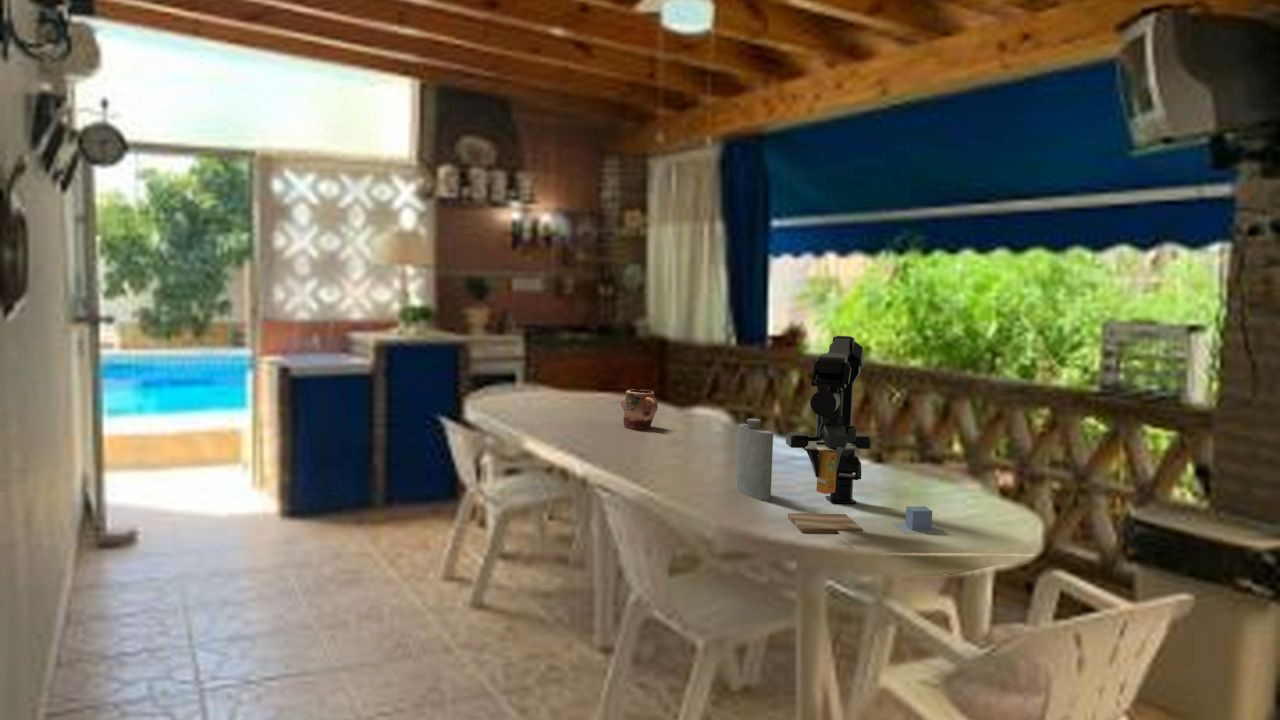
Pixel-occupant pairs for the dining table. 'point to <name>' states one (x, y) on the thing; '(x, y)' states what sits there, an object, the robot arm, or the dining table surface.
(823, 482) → the supplement box
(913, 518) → the slate blue block
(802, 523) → the walnut board
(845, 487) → the robot arm
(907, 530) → the grey mat
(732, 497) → the dining table surface
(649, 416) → the pink rounded hollow vessel
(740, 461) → the hip flask
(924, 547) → the dining table surface
